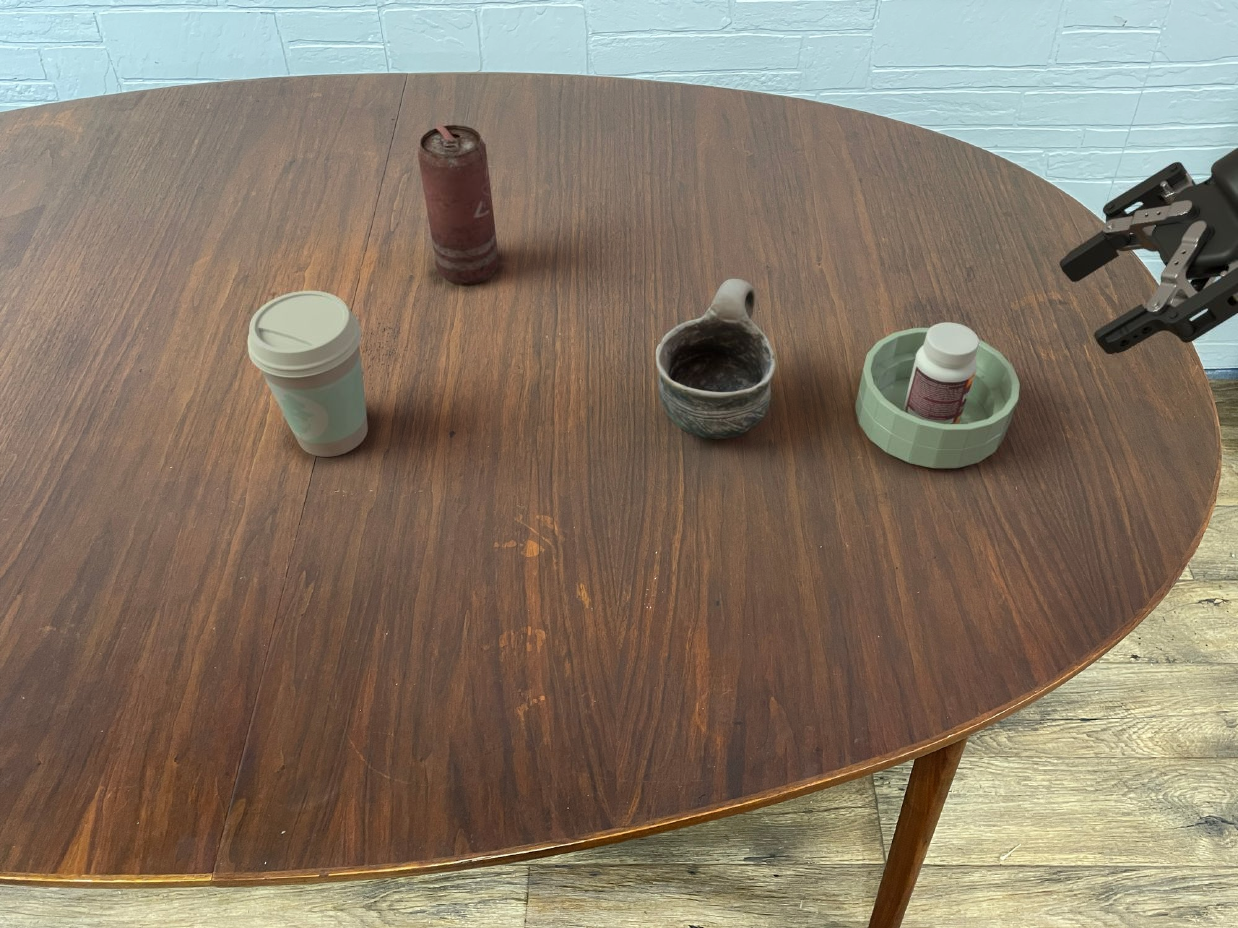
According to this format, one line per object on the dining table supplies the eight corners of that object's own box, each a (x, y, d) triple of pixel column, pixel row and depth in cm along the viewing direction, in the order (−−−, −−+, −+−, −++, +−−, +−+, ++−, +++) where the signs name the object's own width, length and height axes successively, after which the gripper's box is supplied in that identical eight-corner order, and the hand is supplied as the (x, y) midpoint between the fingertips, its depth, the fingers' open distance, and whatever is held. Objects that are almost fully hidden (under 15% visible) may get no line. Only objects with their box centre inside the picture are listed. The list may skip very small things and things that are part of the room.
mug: (645, 450, 85) (646, 357, 78) (667, 352, 94) (670, 260, 87) (763, 464, 84) (775, 371, 77) (774, 363, 93) (787, 271, 85)
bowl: (983, 371, 92) (998, 327, 88) (1020, 472, 83) (1037, 428, 80) (844, 372, 92) (853, 328, 88) (867, 473, 83) (878, 429, 80)
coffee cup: (266, 422, 88) (225, 310, 79) (359, 384, 91) (330, 273, 83) (303, 485, 83) (265, 373, 74) (401, 442, 86) (375, 330, 78)
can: (474, 241, 106) (457, 113, 96) (511, 270, 103) (498, 140, 92) (424, 265, 103) (401, 136, 93) (460, 295, 100) (440, 164, 90)
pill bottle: (966, 435, 85) (991, 357, 79) (908, 435, 85) (929, 358, 79) (952, 395, 89) (976, 318, 83) (896, 396, 89) (916, 318, 83)
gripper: (1242, 79, 72) (1029, 223, 80) (1341, 191, 62) (1087, 342, 70) (1285, 149, 75) (1077, 279, 84) (1385, 265, 66) (1138, 399, 74)
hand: (1082, 308), depth 77 cm, fingers open, 8 cm apart
